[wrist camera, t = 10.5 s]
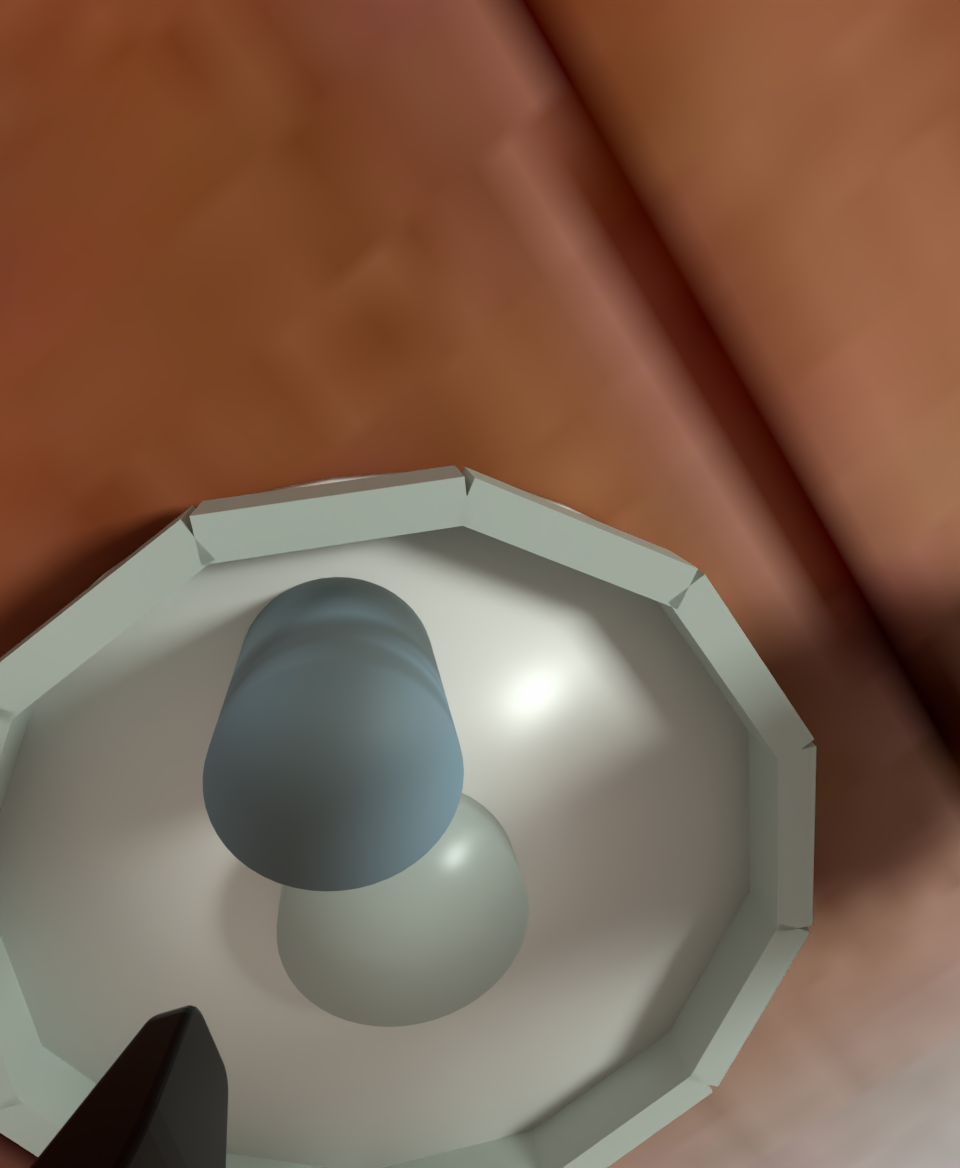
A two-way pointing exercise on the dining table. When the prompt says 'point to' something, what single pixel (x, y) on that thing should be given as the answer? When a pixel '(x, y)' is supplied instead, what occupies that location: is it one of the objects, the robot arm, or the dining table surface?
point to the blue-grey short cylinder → (333, 741)
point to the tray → (524, 751)
